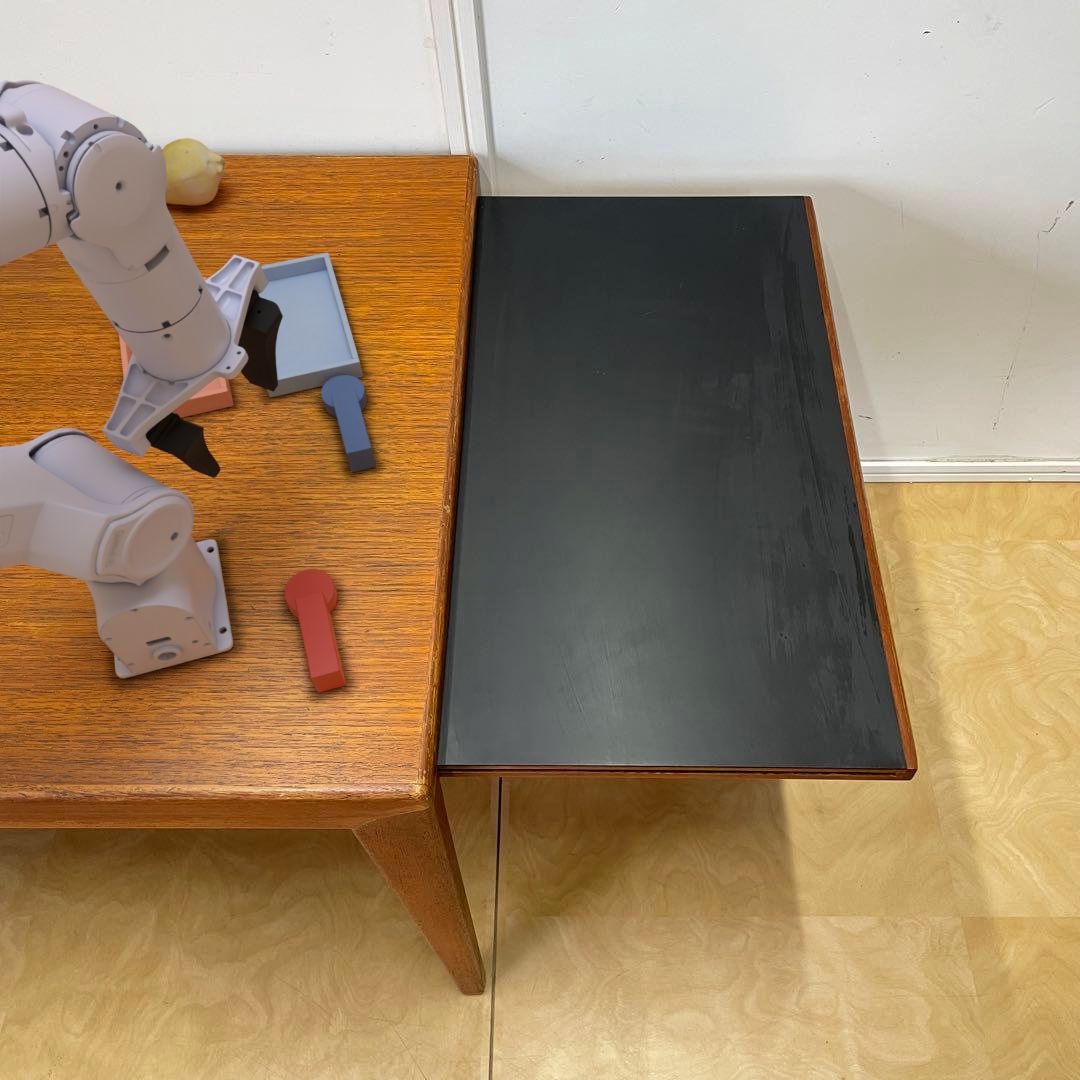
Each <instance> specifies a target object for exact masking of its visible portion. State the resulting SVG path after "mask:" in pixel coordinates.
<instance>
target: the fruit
mask: <svg viewBox="0 0 1080 1080" xmlns="http://www.w3.org/2000/svg"><path fill="white" fill-rule="evenodd" d="M162 152H163V155H164V158H165V162H166V168H167V186H166V194H165V200H166V204H169V205H181V206H182V205H183V206H191V207H192V206H204V205H207V204H209V203H210V202H212V201H214V199H215V198H216V196H217V193H218V190H219V186H220V183H221V181H222V179H223V178H224V176H225V174H226V169H225V167H226V160H225V158H224V157H222V156H221V155H219V154H218V153H216V152H215V151H212V150H211V149H210V148H209V147H207V145H205V144H204V143H202V142H201V141H199V140H197V139H194V138H188V137H187V138H186V137H185V138H178V139H175V140H173V141H171V142H169V143H167V144H166V145H165V146H164V147H163V148H162Z"/></svg>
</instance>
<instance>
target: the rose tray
mask: <svg viewBox="0 0 1080 1080" xmlns="http://www.w3.org/2000/svg"><path fill="white" fill-rule="evenodd" d="M202 277H203V278H204V280H207V279H208V277H207V276H202ZM118 340H119V350H120V358H121V368H122V376H123V379H124V377H125V374H126V371H127V368H128V365H129V362H130V359H131V355H132V352H131V350H130V349H129V347H128V346H127V345H126V343H125V342H124V340H123V339H122V338H121V336H120V335H119V334H118ZM231 389H232V388H231V384H230V379H225V378H222V377H218V378H216V379H215V380H213V381H212V382H211V383H209V384H208V385H207V386H205V387H204V388H203V389H201V390H200V391H199V392H198V393H196V394H195V395H194V396H192V397H191V398H190V399H188V400H187V401H186V402H184V403H183V404H182V405H181V406H179V407H178V408H177V409H175V410H174V411H173V412H172V413H175V414H178V415H179V416H180V418H181V419H183V418H186V417H191V416H195V415H199V414H204V413H208V412H212V411H217V410H221V409H226V408H230V407H234V405H235V404H234V399H233V395H232V390H231Z"/></svg>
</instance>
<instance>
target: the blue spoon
mask: <svg viewBox="0 0 1080 1080" xmlns="http://www.w3.org/2000/svg"><path fill="white" fill-rule="evenodd" d="M320 397H321V400H322V404H323V407H324V410H325V411H326V412H327V413H328V414H329V415H330V416H331V417H334V418H336V419H337V420H336V421H337V424H338V428H339V432H340V435H341V438H342V439H341V440H342V443H343V446H344V451H345V454H346V458H347V462H348V465H349V469H350V473H356V472H360V471H365V470H369V469H373V468H376V466H377V465H376V461H375V456H374V451H373V448H372V444H371V440H370V437H369V433H368V430H367V427H366V422H365V418H364V415H363V411H364V409H365V408H366V406H367V404H368V403H367V402H368V397H367V393H366V389H365V385H364V383H363V381H362V380H361V379H359V378H356V377H354V376H350V375H340V376H336V377H333V378H331V379H330V380H328V381H327V382H326V383H325V384H324V385H323V386H321V389H320Z"/></svg>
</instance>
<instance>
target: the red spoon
mask: <svg viewBox="0 0 1080 1080" xmlns="http://www.w3.org/2000/svg"><path fill="white" fill-rule="evenodd" d="M334 582H335V581H334V580H333V578H332V577H331V576H330V575H329V574H328V573H327V572H325V571H323V570H320V569H314V568H312V569H304V570H301V571H299V572H297V573H296V574H294V575H293V576H292V577H291V578H289V580H288V581H287V583H286V585H285V588H284V590H283V591H284V592H283V595H284V601H285V603H286V605H287V607H288V609H289V611H290V613H291V614H292V615H293V616H294V617H296V618H297V619H298V622H299V623H298V624H299V627H300V632H301V637H302V642H303V647H304V648H303V649H304V653H305V657H306V662H307V667H308V672H309V676H310V680H311V681H312V684H313V686H314V688H315V690H316V692H317V693H318V694H319V693H323V692H327V691H331V690H334V689H338V688H341V687H345V686H347V681H346V678H345V677H346V676H345V673H344V672H345V671H344V669H343V664H342V659H341V655H340V651H339V646H338V641H337V637H336V633H335V632H336V631H335V628H334V624H333V619H332V614H331V613H332V612H333V610H334V609H335V607H336V605H337V603H338V599H339V598H338V590H337V588H336V585H335V583H334Z"/></svg>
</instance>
